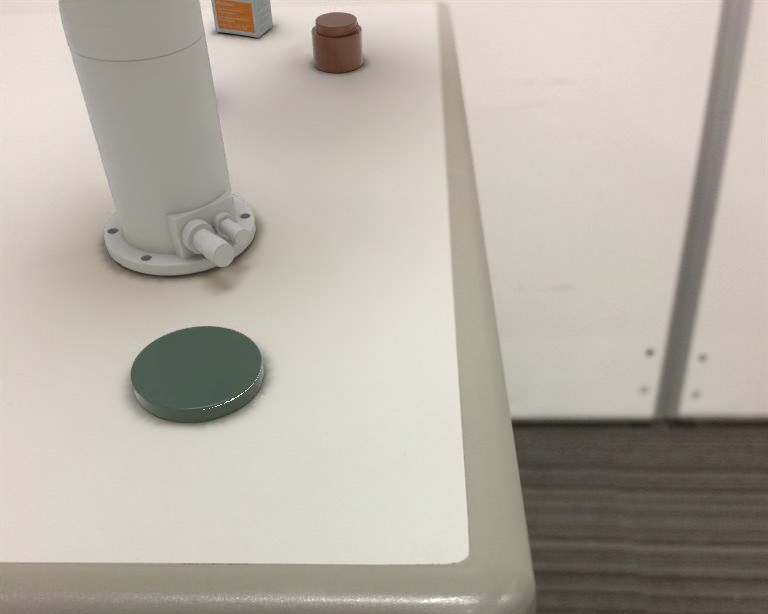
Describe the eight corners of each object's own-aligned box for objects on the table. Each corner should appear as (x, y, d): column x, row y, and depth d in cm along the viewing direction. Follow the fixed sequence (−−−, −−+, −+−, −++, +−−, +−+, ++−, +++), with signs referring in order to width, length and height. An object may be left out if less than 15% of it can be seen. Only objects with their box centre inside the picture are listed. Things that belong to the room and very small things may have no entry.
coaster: (289, 381, 57) (287, 368, 56) (177, 442, 53) (173, 428, 52) (218, 323, 61) (215, 310, 60) (111, 375, 58) (106, 362, 57)
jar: (373, 63, 93) (371, 19, 90) (334, 77, 91) (332, 32, 87) (342, 49, 96) (339, 6, 92) (304, 62, 93) (300, 19, 90)
